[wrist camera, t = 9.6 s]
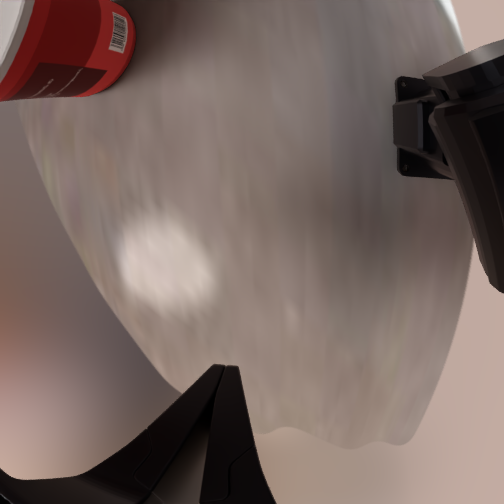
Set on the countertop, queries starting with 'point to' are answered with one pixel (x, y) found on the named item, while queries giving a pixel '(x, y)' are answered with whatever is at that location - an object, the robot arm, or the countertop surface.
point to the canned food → (62, 47)
